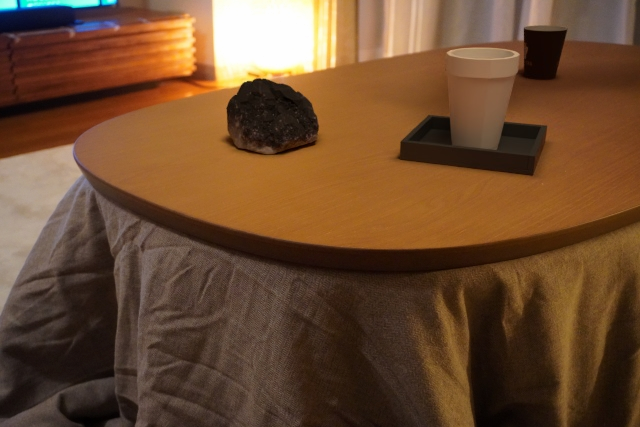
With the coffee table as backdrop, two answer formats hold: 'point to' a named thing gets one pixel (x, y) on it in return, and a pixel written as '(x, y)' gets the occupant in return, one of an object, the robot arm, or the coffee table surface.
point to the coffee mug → (542, 51)
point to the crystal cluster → (270, 117)
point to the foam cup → (479, 94)
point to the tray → (511, 155)
